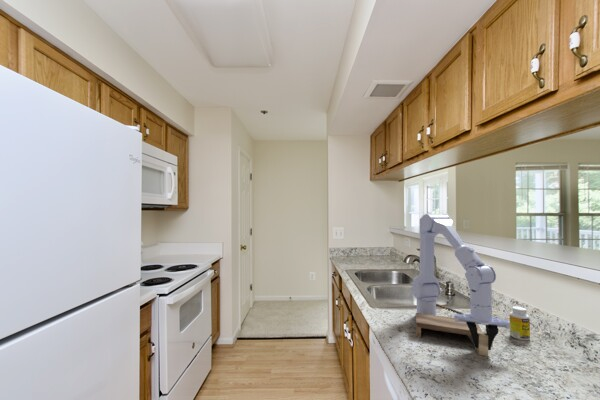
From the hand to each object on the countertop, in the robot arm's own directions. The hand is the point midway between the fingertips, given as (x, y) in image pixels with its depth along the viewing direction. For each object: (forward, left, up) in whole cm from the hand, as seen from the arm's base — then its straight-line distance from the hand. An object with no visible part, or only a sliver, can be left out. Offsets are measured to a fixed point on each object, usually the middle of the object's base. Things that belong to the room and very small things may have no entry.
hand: (482, 347), depth 86 cm
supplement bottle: (-18, +15, -2) cm, 24 cm away
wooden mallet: (-5, 0, -2) cm, 5 cm away
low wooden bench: (-9, -9, -2) cm, 13 cm away
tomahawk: (-43, -7, -2) cm, 43 cm away
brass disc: (-8, +2, -2) cm, 8 cm away
